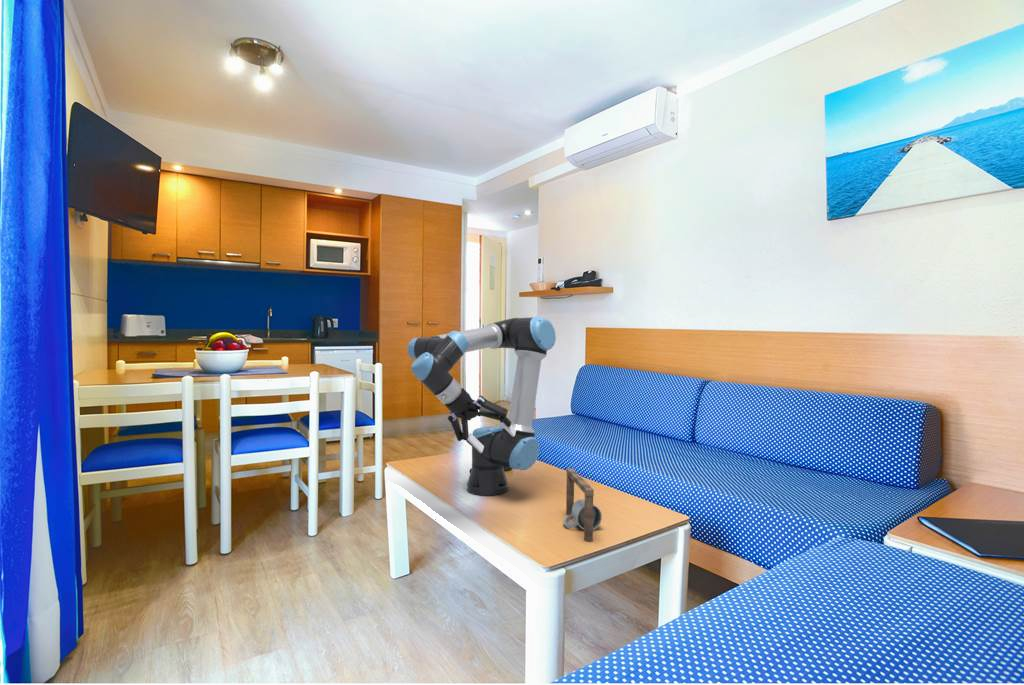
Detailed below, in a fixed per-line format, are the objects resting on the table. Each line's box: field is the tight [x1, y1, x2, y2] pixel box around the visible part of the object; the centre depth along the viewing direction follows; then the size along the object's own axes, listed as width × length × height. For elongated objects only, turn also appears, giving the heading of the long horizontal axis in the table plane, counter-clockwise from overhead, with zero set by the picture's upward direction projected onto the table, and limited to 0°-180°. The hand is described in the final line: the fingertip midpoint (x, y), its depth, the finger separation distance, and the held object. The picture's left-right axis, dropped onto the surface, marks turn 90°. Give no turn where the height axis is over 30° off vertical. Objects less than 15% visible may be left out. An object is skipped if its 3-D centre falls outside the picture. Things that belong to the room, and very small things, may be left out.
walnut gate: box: [565, 467, 595, 543], centre depth 146 cm, size 22×2×14 cm, turn 8°
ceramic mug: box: [562, 498, 603, 531], centre depth 147 cm, size 11×8×8 cm
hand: (498, 441), depth 153 cm, fingers open, 13 cm apart
